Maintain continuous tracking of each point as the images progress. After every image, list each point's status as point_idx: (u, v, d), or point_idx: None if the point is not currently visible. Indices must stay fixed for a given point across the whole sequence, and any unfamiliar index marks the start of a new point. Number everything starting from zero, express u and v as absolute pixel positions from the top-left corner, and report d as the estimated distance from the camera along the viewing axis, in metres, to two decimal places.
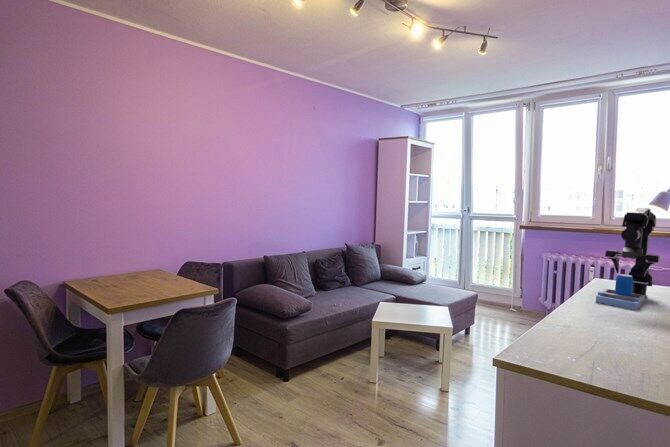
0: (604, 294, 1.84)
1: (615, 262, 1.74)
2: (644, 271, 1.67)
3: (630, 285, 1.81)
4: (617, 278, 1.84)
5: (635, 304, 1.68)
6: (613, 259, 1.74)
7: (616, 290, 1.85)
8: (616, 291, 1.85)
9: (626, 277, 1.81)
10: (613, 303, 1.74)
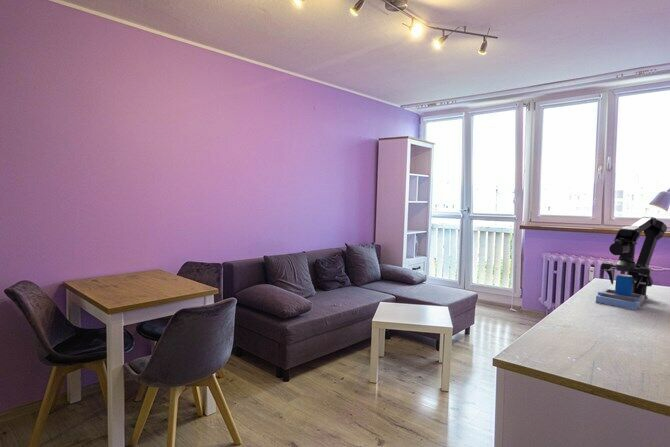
0: (604, 294, 1.84)
1: (610, 274, 1.87)
2: (637, 283, 1.80)
3: (630, 285, 1.81)
4: (617, 278, 1.84)
5: (635, 304, 1.68)
6: (608, 271, 1.86)
7: (616, 290, 1.85)
8: (616, 291, 1.85)
9: (626, 277, 1.81)
10: (613, 303, 1.74)
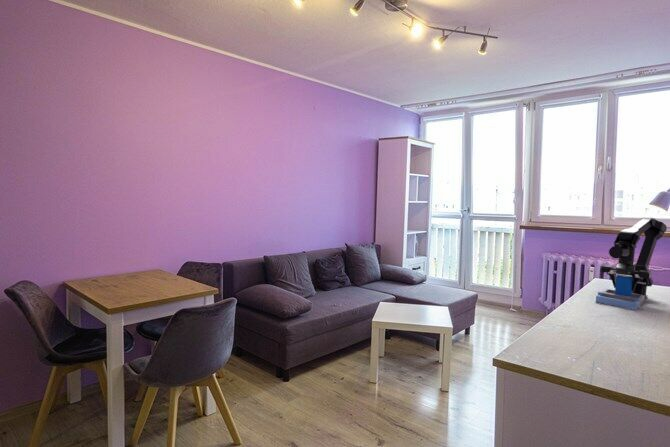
0: (604, 294, 1.84)
1: (613, 278, 1.86)
2: (633, 286, 1.81)
3: (630, 285, 1.81)
4: (617, 278, 1.84)
5: (635, 304, 1.68)
6: (611, 275, 1.86)
7: (616, 290, 1.85)
8: (616, 291, 1.85)
9: (626, 277, 1.81)
10: (613, 303, 1.74)
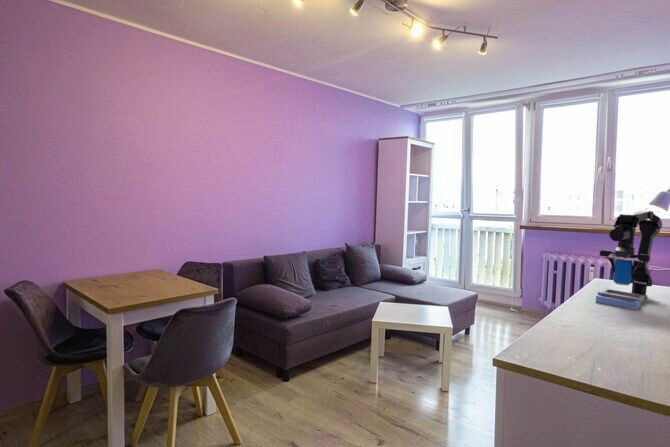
0: (604, 294, 1.84)
1: (612, 262, 1.82)
2: (632, 269, 1.77)
3: (630, 269, 1.77)
4: (616, 262, 1.80)
5: (635, 304, 1.68)
6: (610, 259, 1.82)
7: (615, 274, 1.81)
8: (615, 275, 1.81)
9: (626, 261, 1.77)
10: (613, 303, 1.74)
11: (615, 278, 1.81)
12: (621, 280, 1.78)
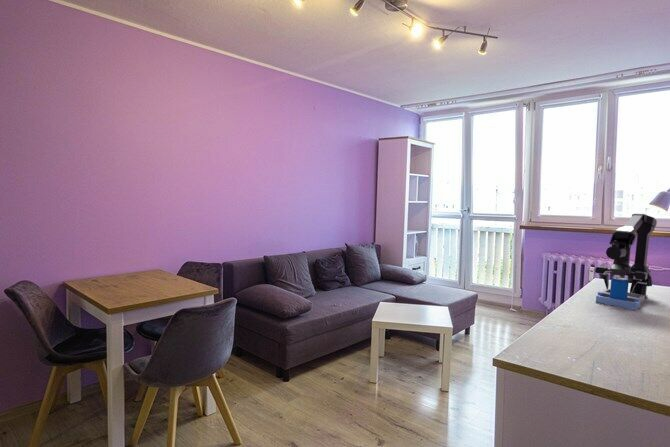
0: (604, 294, 1.84)
1: (605, 278, 1.79)
2: (631, 288, 1.72)
3: (626, 289, 1.73)
4: (612, 281, 1.77)
5: (635, 304, 1.68)
6: (603, 275, 1.79)
7: (611, 294, 1.77)
8: (611, 295, 1.77)
9: (621, 280, 1.74)
10: (613, 303, 1.74)
11: None
12: None
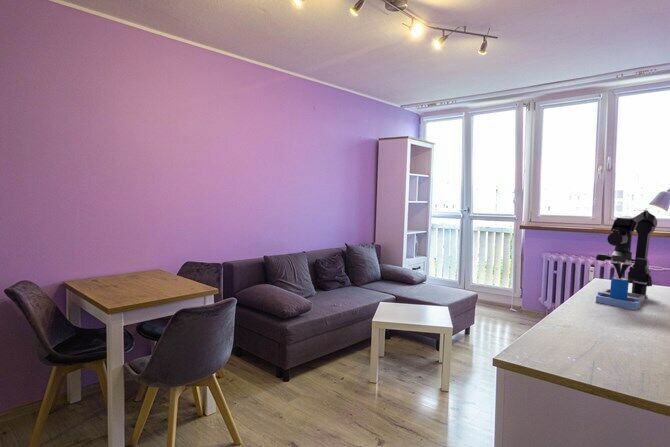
0: (604, 294, 1.84)
1: (617, 267, 1.76)
2: (621, 273, 1.75)
3: (626, 289, 1.73)
4: (612, 281, 1.77)
5: (635, 304, 1.68)
6: (615, 264, 1.75)
7: (611, 294, 1.77)
8: (611, 295, 1.77)
9: (621, 280, 1.74)
10: (613, 303, 1.74)
11: None
12: None
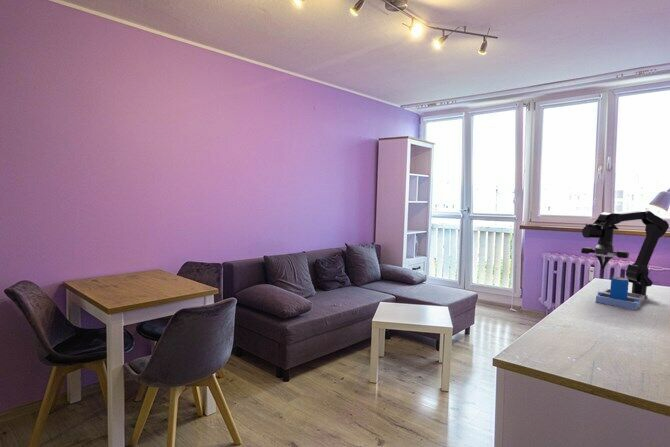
0: (604, 294, 1.84)
1: (600, 259, 1.90)
2: (604, 265, 1.89)
3: (626, 289, 1.73)
4: (612, 281, 1.77)
5: (635, 304, 1.68)
6: (598, 257, 1.89)
7: (611, 294, 1.77)
8: (611, 295, 1.77)
9: (621, 280, 1.74)
10: (613, 303, 1.74)
11: None
12: None
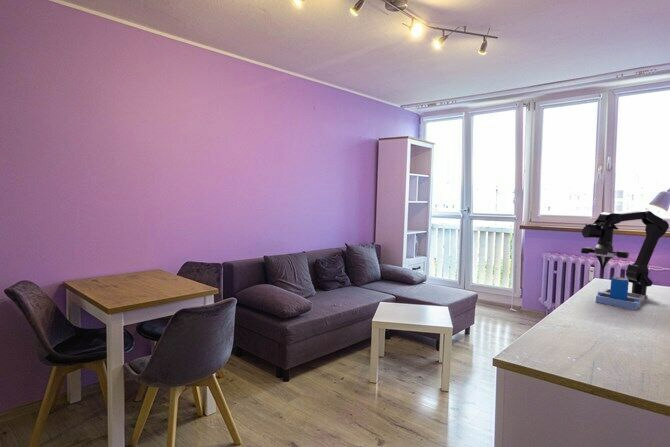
0: (604, 294, 1.84)
1: (600, 259, 1.90)
2: (604, 264, 1.89)
3: (626, 289, 1.73)
4: (612, 281, 1.77)
5: (635, 304, 1.68)
6: (598, 257, 1.90)
7: (611, 294, 1.77)
8: (611, 295, 1.77)
9: (621, 280, 1.74)
10: (613, 303, 1.74)
11: None
12: None
